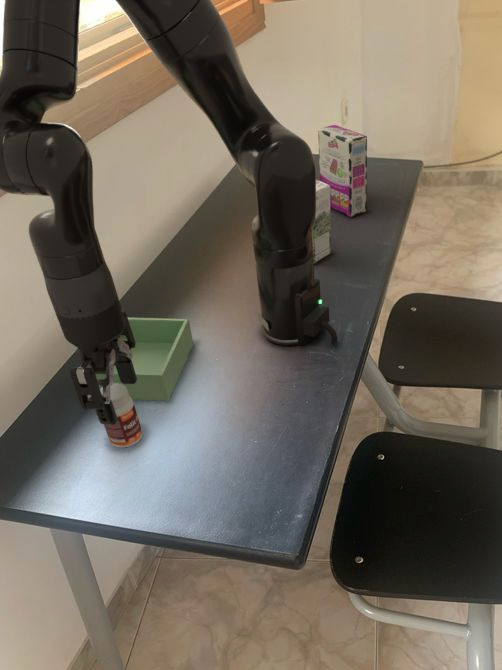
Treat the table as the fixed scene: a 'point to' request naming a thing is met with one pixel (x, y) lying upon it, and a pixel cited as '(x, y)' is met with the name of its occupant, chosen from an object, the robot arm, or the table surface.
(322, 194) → the syrup box
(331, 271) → the table surface
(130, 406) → the pill bottle
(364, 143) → the candy bar box
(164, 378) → the basket
